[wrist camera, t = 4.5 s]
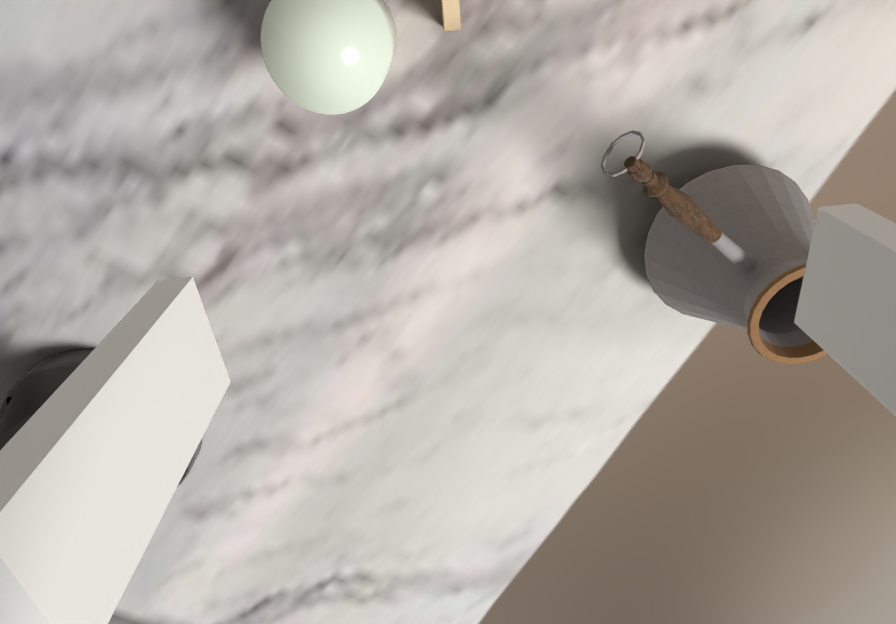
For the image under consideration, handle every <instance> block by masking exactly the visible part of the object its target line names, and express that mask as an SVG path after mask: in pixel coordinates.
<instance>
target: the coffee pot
mask: <svg viewBox="0 0 896 624" xmlns="http://www.w3.org/2000/svg"><path fill="white" fill-rule="evenodd" d="M633 134H634V135H639V136H640V137H641V139H642V143H641V147H640V150H639V152H638V153H637V155H636V157H633V156H631V157H629V158H627V159H626V161H625V163H624V166H625V168H624V169H622V170H620V171H618V172H616V173H613V174H612V173H609V172H607V171H606V168H605V164H606V160H607V157H608V155H609V154H610V152H611V150H612V149H613V147H614V146H615V145H616V144H617V143H619V142H620V141H621V140H623V139H624V138H626V137H628V136H631V135H633ZM645 144H646V141H645V139H644V137H643V134H642V133H641V132H636V131H630V132H628V133H625V134H623V135H621V136H620V137H619V138H617V139H616V140H615V141H614V142H612V143H611V145H610V146H609V148H608V149H607V151H606V153H605V154H604V157H603V161H602V164H601V166H602V169H603V172H604V173H605V174H606V175H609V176H612V177H616V176H618V175H621V174H623V173H625V172H626V171H628V172H629V174H630V175H631V176H632V178H633V179H634V180H635V181H637V182H641V183H642V184H643V192H644V193H645V195H647V196H649V197H656V198H657V199H658V200H659V201H660V203H661V204H662V205H663V207H662V208H661V209H660V210H659V212H658V213H657V215H656V217H655V219H654V221H653V224H652V226H651V228H650V230H649V233H648V237H647V242H646V248H645V253H644V258H645V268H646V275H647V277H648V279H649V282H650V284H651V286H652V288H653V291H654V292H655V293H656V294H657V295H658V296H659V297H660V299H661V300H662V301H663V302H664V303H665V304H666V305H668V306H670V307H671V308H673V309H675V310H677V311H679V312H680V313H682V314H685V315H689V316H693V317H697V318H701V319H705V320H709V321H713V322H717V323H721V324H725V325H729V326H733V327H737V328H741V329H745V330H747V331H748V332H747V333H748V336H749V339H750V342H751V344H752V346H753V347H754V348H755V350H756V351H757V352H758V353H759V354H760V355H762V356H764V357H766V358H767V359H769V360H771V361H775V362H780V363H785V364H791V363H792V364H796V363H803V362H808V361H812V360H815V359H817V358H820V357H822V356H824V355H827V353H826V352H825V351H824V350H823V349H822V348H821V347H820V346H819V345H818V344H817V343H816V342H815V341H813V340H812V339H811V338H810V337H809V336H808V335H807V334H806V333H805V332H804V331H803V330H802V329H800V328H799V327H798V326H797V325H796V324H795V323H794V320H795V315H796V310H797V306H798V301H799V296H800V291H801V287H802V282H803V277H804V273H805V268H806V263H807V258H808V254H809V249H810V244H811V240H812V235H813V230H814V225H815V222H814V219H813V215H812V212H811V209H810V206H809V202H808V199H807V198H806V196H805V195H804V193H803V192H802V191H801V189H800V188H799V186H798V185H797V184H796V182H794V181H793V180H792V179H790V178H789V177H787V176H786V175H784V174H783V173H781V172H780V171H778V170H774V169H771V168H767V167H764V166H760V165H732V166H728V167H724V168H720V169H716V170H712V171H709V172H707V173H705V174H703V175H701V176H699V177H697V178H695V179H693V180H691V181H689V182H687V183H686V184H685V185H684V186H683V187H681V188H680V189H679V190H678V189H677V188H675V187H673V186H671V185H670V184H669V180H668V177H667V175H666V174H665V173H663V172H655V173H654V172H653V171H652V169H651V167H650V165H649V164H647V163H645V162H644V161H642V160H640V159H639V158H640V156H641V155H642V153H643V150H644V147H645Z"/></svg>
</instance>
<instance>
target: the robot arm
mask: <svg viewBox="0 0 896 624" xmlns="http://www.w3.org/2000/svg"><path fill="white" fill-rule="evenodd" d="M794 323H795V324H796V325H797V326H798V327H799V328H800V329H802V330H803V331H804V332H805V333H806V334H807V335H808V336H809V337H810V338H811V339H812V340H813V341H815V342H816V343H817V344H818V345H819V346H820V347H821V348H822V349H823V350H824V351H825V352H826V353H827V354H829V355H830V356H831V357H832V358H833V359H834V360H835V361H836V362H837V363H838V364H839V365H841V367H843V368H844V369H845V370H846V371H847V372H848V373H849V374H850V375H851V376H852V377H853V378H854V379H856V380H857V381H858V382H859V383H860V384H861V385H862V386H863V387H864V388H865V389H866V390H867V391H868V392H869V393H871V394H872V395H873V396H874V397H875V398H876V399H877V400H878V401H879V402H880V403H881V404H883V405H884V406H885V407H886V408H887V409H888V410H889V411H890V412H891V413H892V414H893V415H894V416H896V223H894V222H891V221H890V220H888V219H886V218H884V217H882V216H880V215H878V214H876V213H874V212H872V211H870V210H868V209H866V208H864V207H862V206H860V205H859V204H857V203H854V204H845V205H836V206H827V207H819V208H818V211H817V216H816V221H815V225H814V230H813V235H812V240H811V244H810V249H809V254H808V258H807V263H806V268H805V273H804V277H803V282H802V287H801V291H800V296H799V301H798V306H797V310H796V315H795V320H794ZM229 384H230V379H229V376H228V373H227V371H226V368H225V365H224V362H223V360H222V357H221V354H220V351H219V348H218V346H217V343H216V340H215V337H214V335H213V332H212V329H211V326H210V323H209V321H208V318H207V315H206V312H205V310H204V307H203V304H202V301H201V299H200V296H199V293H198V290H197V287H196V285H195V282H194V279H193V277H189V278H180V279H171V280H162V281H157V282H156V283H155V284H154V285H153V286H152V287H151V289H150V290H149V291H148V292H147V293H146V294H145V295H144V296H143V297H142V298H141V299H140V300H139V301H138V303H137V304H136V305H135V306H134V307H133V308H132V309H131V310H130V311H129V312H128V313H127V314H126V315H125V317H124V318H123V319H122V320H121V321H120V322H119V323H118V324H117V325H116V326H115V327H114V328H113V330H112V331H111V332H110V333H109V334H108V335H107V336H106V337H105V338H104V339H103V340H102V341H101V342H100V344H99V345H98V346H97V347H96V348H95V349H94V350H73V351H67V352H62V353H58V354H55V355H52V356H50V357H48V358H46V359H44V360H42V361H40V362H39V363H37V364H36V365H35V366H33V367H32V368H31V369H30V370H29V371H28V372H27V373H26V374H25V375H24V376H23V377H22V378H21V379H20V380H19V381H18V382H17V383H16V384H15V385H14V386H13V387H12V389H11V390H10V391H9V393H8V394H7V396H6V398H5V400H4V402H3V405H2V408H1V411H0V624H108V622H109V620H110V618H111V616H112V614H113V612H114V610H115V608H116V606H117V604H118V603H119V601H120V599H121V597H122V595H123V593H124V591H125V589H126V587H127V585H128V583H129V581H130V579H131V577H132V575H133V573H134V571H135V569H136V567H137V565H138V563H139V561H140V559H141V557H142V555H143V553H144V551H145V549H146V547H147V545H148V543H149V541H150V539H151V537H152V535H153V534H154V532H155V530H156V528H157V526H158V524H159V522H160V520H161V518H162V516H163V514H164V512H165V510H166V508H167V506H168V504H169V502H170V500H171V498H172V496H173V494H174V492H175V490H176V488H177V487H178V486H179V485H180V484H181V483H182V482H183V481H184V479H185V478H186V477H187V475H188V474H189V472H190V470H191V468H192V466H193V464H194V462H195V460H196V458H197V456H198V454H199V451H200V448H201V444H202V437H203V435H204V433H205V431H206V429H207V427H208V425H209V423H210V421H211V419H212V417H213V415H214V413H215V411H216V409H217V407H218V405H219V403H220V401H221V399H222V397H223V396H224V394H225V392H226V390H227V388H228V386H229Z"/></svg>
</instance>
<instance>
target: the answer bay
mask: <svg viewBox="0 0 896 624" xmlns="http://www.w3.org/2000/svg"><path fill="white" fill-rule="evenodd" d="M441 6H442V19H443V28H444V30H445V31H453V30H461V23H460V9H459V0H441Z"/></svg>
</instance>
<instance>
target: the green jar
mask: <svg viewBox="0 0 896 624" xmlns="http://www.w3.org/2000/svg"><path fill="white" fill-rule="evenodd" d="M396 47H397V31H396V25H395V21H394V18H393V15H392V13H391V11H390V9H389V7H388V5H387V4H386V2H385V1H384V0H271V2H270V4H269V5H268V7H267V9H266V12H265V15H264V18H263V22H262V27H261V48H262V54H263V58H264V61H265V64H266V67H267V69H268V72H269V74H270V75H271V77H272V79H273V81H274V82H275V83H276V85H277V86H278V88H279V89H280V90H281V91H282V92H283V93H284V94H285V95H286V96H287V97H288V98H289V99H290V100H292V101H293V102H295V103H296V104H298V105H299V106H301V107H303V108H305V109H307V110H310V111H313V112H316V113H320V114H329V115H332V114H342V113H347V112H350V111H353V110H355V109H357V108H359V107H361V106H362V105H364V104H365V103H367V102H368V101H369V100H370V99H371V98H372V97H373V96H374V95H375V94H376V92H377V91H378V90H379V88H380V86H381V85H382V83H383V81H384V79H385V76H386V74H387V72H388V70H389V68H390V66H391V64H392V61H393V59H394V56H395V52H396Z"/></svg>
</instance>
